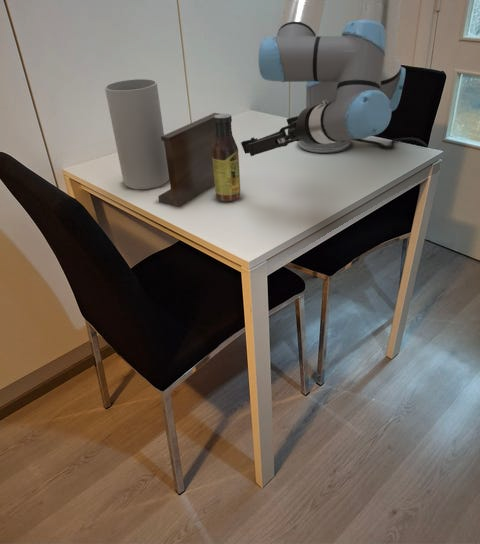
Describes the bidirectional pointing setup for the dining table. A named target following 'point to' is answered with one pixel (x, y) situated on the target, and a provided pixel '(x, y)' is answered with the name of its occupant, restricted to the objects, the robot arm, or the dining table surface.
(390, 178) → the dining table surface
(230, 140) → the sauce bottle
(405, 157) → the dining table surface
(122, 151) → the cylinder vase
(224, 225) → the dining table surface
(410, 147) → the dining table surface
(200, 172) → the wooden shelf
